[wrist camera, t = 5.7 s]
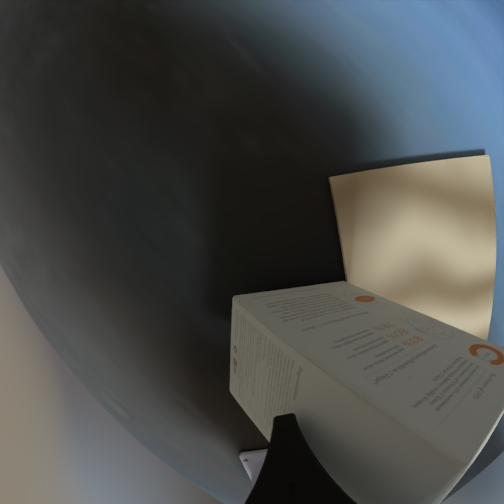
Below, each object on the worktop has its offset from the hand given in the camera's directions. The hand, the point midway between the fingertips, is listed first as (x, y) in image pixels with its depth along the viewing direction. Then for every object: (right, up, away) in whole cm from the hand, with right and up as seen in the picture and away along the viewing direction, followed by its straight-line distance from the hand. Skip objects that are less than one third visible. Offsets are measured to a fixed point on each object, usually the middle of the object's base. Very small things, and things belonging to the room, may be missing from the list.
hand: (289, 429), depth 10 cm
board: (+12, +4, +9) cm, 16 cm away
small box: (+1, +2, +8) cm, 8 cm away
